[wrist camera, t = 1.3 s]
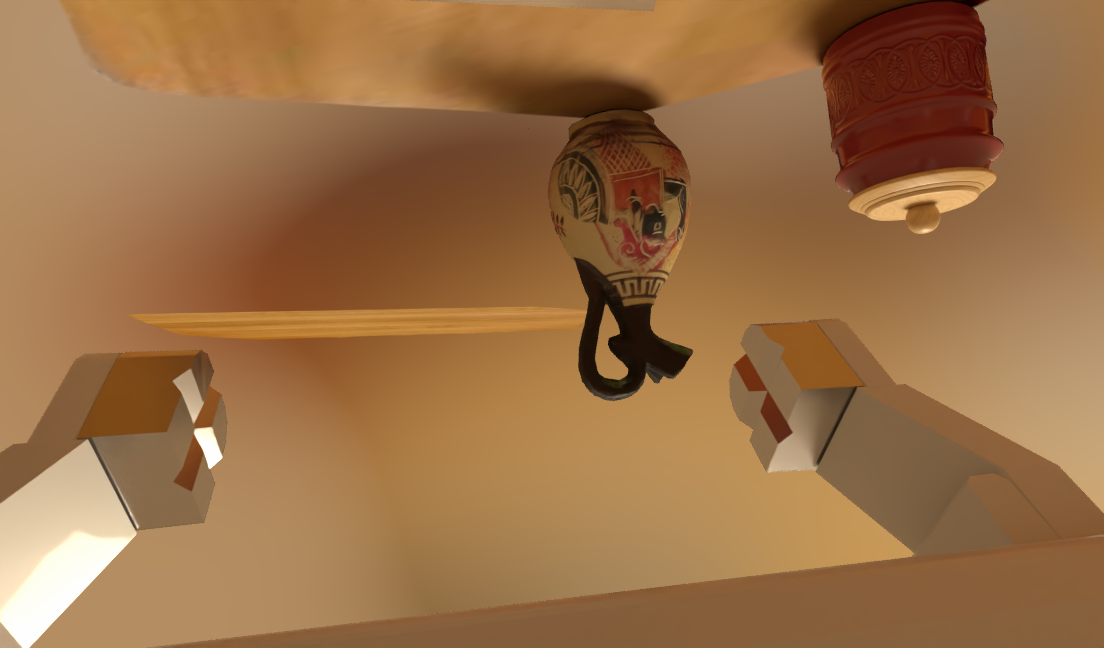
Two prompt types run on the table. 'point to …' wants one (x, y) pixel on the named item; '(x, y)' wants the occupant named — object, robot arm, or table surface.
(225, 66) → the table surface
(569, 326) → the table surface
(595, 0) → the plank
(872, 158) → the canister
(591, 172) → the ceramic jug
